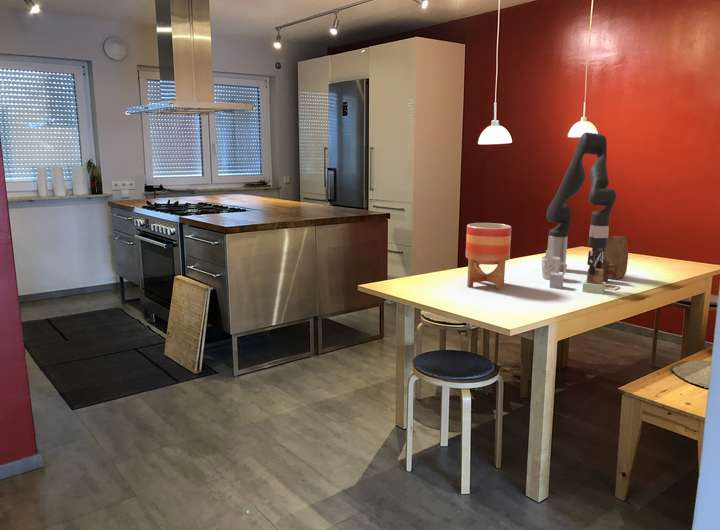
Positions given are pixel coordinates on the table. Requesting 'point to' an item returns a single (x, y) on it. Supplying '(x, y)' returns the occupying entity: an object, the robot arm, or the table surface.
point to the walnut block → (595, 276)
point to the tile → (611, 287)
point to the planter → (487, 251)
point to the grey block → (556, 280)
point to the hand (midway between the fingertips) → (595, 273)
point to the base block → (593, 287)
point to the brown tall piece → (617, 255)
